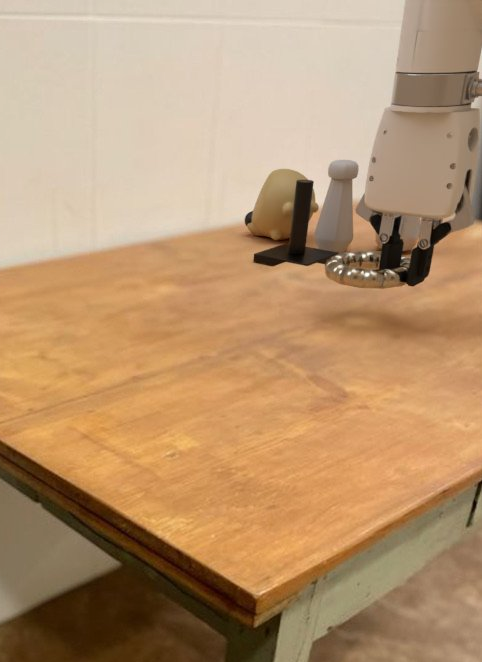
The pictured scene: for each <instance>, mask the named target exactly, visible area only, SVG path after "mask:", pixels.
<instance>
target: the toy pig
mask: <svg viewBox="0 0 482 662" xmlns="http://www.w3.org/2000/svg"><path fill="white" fill-rule="evenodd" d="M297 180H309V179H308V177H306V176H305V175H304V174H302V173H301V172H299V171H297V170H294V169H289V168H277V169H275V170H273V171H271V172H270V173H269V175H268V176H267V177H266V179H265V181H264V183H263V185H262V187H261V189H260V192H259V194H258V195H257V199H256V201H255V204H254V207H253V209H252V211H249V212H247V214H246V215H245V217H244V225H245V226H246V227H247V229H248V231H249V232H250V233H251V234H253V235H254V236H259V237H268V238H270V239H271V240H273V241H280V240H281V241H282V240H287V239H290V233H291V224H292V215H293V206H294V198H295V189H296V181H297ZM319 209H320V208H319V204H318V203H317V202H316V194H315V189H314V188H313V191H312V199H311V207H310V215H309V222H310V221H311V219H312V218H313V214H314V213H317V212H318V211H319Z"/></svg>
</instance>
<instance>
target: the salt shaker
mask: <svg viewBox="0 0 482 662" xmlns="http://www.w3.org/2000/svg"><path fill="white" fill-rule="evenodd" d="M327 175H328V178H330V182H329V185H328V188H327V192H326V195H325V198H324V201H323V205H322V208H321V210H320V213H319V217H318V220H317V224H316V227H315V230H314V232H313V233H314V240H315V244H316V249H321V250H327V251H332V252H338V253H339V254H340V253H345V252H346V251H347V249H348V248H349V246H350V244H351V243H352V242H353V240H354V210H353V209H354V208H353V207H354V206H353V180H354V179H356V178H358V175H359V164H358V163H357V161H355V160H351V159H336V160H332V161H331V162H330V163H329V165H328V168H327Z"/></svg>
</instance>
